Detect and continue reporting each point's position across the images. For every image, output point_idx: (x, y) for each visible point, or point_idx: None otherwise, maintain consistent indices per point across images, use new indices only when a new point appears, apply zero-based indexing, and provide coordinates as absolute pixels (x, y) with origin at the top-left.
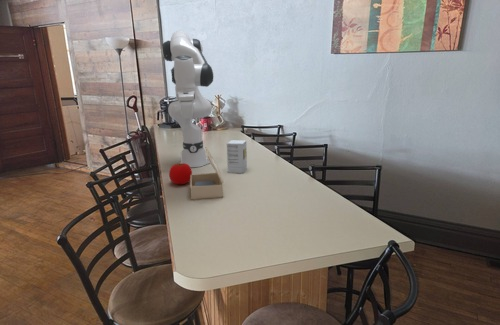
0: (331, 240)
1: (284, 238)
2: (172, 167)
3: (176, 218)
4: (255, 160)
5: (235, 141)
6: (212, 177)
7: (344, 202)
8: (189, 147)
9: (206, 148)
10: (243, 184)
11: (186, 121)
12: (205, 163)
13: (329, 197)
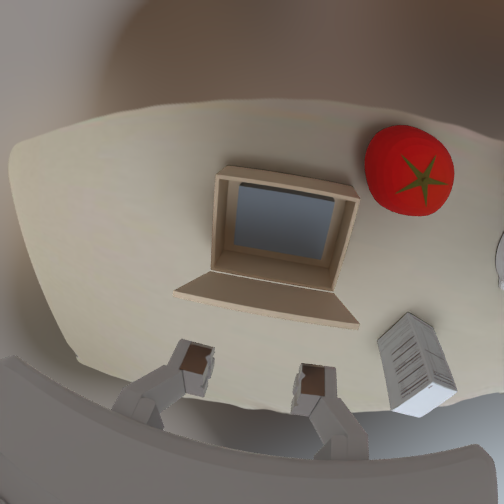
0: (67, 318)
1: (63, 280)
2: (414, 143)
3: (125, 123)
4: None
5: (430, 400)
6: (335, 263)
7: None
8: None
9: (327, 324)
10: None
11: (135, 386)
12: (500, 276)
13: None
